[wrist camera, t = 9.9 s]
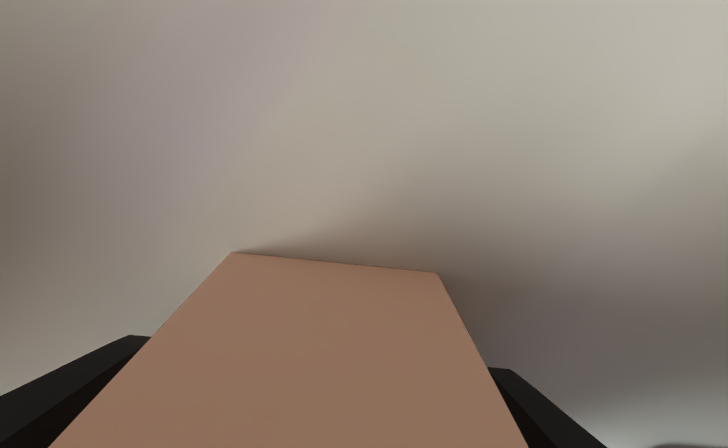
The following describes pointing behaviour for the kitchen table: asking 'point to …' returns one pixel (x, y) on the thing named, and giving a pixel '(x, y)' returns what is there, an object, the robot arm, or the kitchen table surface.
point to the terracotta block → (303, 367)
